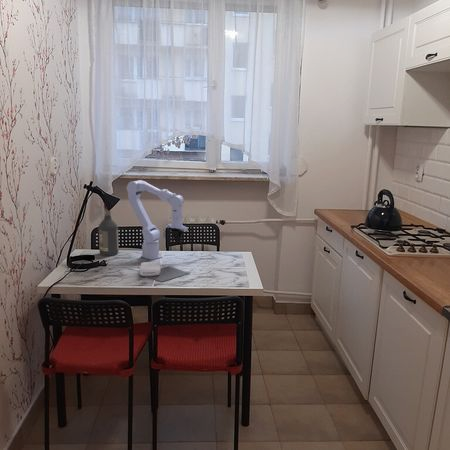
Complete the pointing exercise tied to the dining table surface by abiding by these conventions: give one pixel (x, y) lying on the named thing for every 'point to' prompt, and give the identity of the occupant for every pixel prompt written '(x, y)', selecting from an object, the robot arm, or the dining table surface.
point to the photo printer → (150, 268)
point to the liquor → (108, 235)
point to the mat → (168, 274)
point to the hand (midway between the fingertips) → (177, 242)
